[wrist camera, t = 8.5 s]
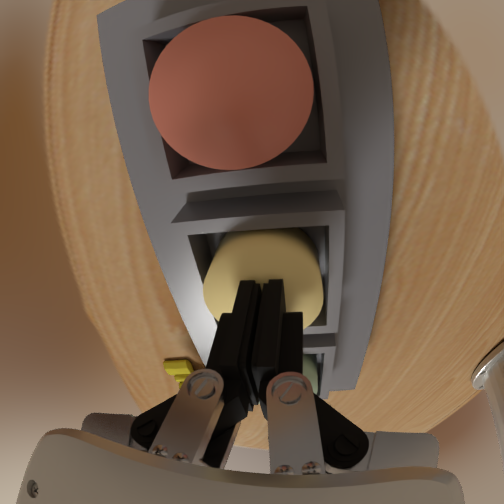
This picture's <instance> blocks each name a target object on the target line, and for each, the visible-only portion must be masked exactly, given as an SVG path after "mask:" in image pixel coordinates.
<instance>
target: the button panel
mask: <svg viewBox="0 0 504 504" xmlns="http://www.w3.org/2000/svg"><path fill="white" fill-rule="evenodd" d="M232 15H236V16H247V17H251V18H256V19H259V20H262V21H264V22H267V23H269V24H271V25H273V26H275V27H277V28H279V29H280V30H281V31H283V32H284V33H285V34H287V35H288V36H289V37H290V38H291V39H292V40H293V41H294V42H295V43H296V44H297V46H298V47H299V48H300V50H301V51H302V53H303V54H304V56H305V58H306V60H307V62H308V65H309V67H310V70H311V74H312V79H313V88H314V95H313V104H312V108H311V112H310V115H309V118H308V120H307V123H306V125H305V126H304V128H303V130H302V132H301V133H300V135H299V136H298V137H297V138H296V140H295V141H294V142H293V143H292V144H291V145H290V146H289V147H288V148H287V149H286V150H284V151H283V152H282V153H281V154H279V155H278V156H276V157H274V158H273V159H271V160H269V161H267V162H265V163H262V164H260V165H257V166H254V167H250V168H245V169H239V170H221V169H214V168H209V167H205V166H202V165H199V164H197V163H194V162H192V161H190V160H188V159H187V158H185V157H183V156H182V155H180V154H179V153H178V152H176V151H175V150H174V149H173V148H172V147H171V146H170V145H169V144H168V143H167V142H166V141H165V139H164V138H163V137H162V136H161V134H160V132H159V131H158V129H157V127H156V125H155V123H154V120H153V118H152V114H151V111H150V105H149V83H150V78H151V74H152V71H153V68H154V66H155V63H156V61H157V59H158V57H159V56H160V54H161V52H162V51H163V50H164V48H165V47H166V46H167V45H168V44H169V43H170V41H171V40H172V39H173V38H174V37H176V36H177V35H178V34H179V33H181V32H182V31H183V30H185V29H187V28H188V27H190V26H192V25H194V24H196V23H198V22H201V21H203V20H207V19H210V18H214V17H220V16H232ZM97 22H98V31H99V39H100V47H101V53H102V60H103V66H104V72H105V77H106V83H107V88H108V93H109V98H110V103H111V107H112V112H113V116H114V120H115V125H116V129H117V133H118V137H119V141H120V144H121V148H122V152H123V156H124V159H125V163H126V166H127V170H128V173H129V177H130V180H131V183H132V187H133V190H134V193H135V196H136V199H137V202H138V205H139V208H140V211H141V214H142V217H143V220H144V223H145V226H146V229H147V232H148V235H149V237H150V240H151V243H152V246H153V248H154V251H155V254H156V256H157V259H158V261H159V264H160V267H161V269H162V272H163V274H164V277H165V279H166V282H167V284H168V286H169V289H170V291H171V294H172V296H173V298H174V301H175V303H176V305H177V308H178V310H179V312H180V314H181V317H182V319H183V321H184V323H185V325H186V328H187V330H188V332H189V334H190V336H191V338H192V340H193V343H194V345H195V347H196V349H197V351H198V353H199V355H200V357H201V359H202V361H203V363H204V365H205V367H206V364H207V361H208V357H209V354H210V350H211V347H212V344H213V340H214V337H215V333H216V330H217V326H218V323H219V321H218V320H217V319H216V318H215V317H214V316H213V315H212V314H211V313H210V311H209V309H208V308H207V306H206V303H205V301H204V297H203V284H204V280H205V278H206V275H207V273H208V270H209V267H210V265H211V262H212V260H213V258H214V255H215V253H216V250H217V248H218V245H219V243H220V241H221V240H222V238H223V237H224V235H225V234H226V233H227V232H232V231H246V230H260V229H275V228H291V227H298V228H299V229H301V230H302V231H303V232H304V233H306V234H307V235H308V236H309V238H310V239H311V240H312V242H313V243H314V245H315V247H316V249H317V252H318V256H319V262H320V270H321V279H322V288H323V305H322V308H321V311H320V313H319V315H318V316H317V318H316V319H315V320H314V321H313V322H312V323H311V324H310V325H309V326H308V327H306V328H305V329H303V354H316V355H317V376H318V391H317V394H316V395H317V396H319V397H320V398H321V399H328V395H329V391H340V390H352V389H355V387H356V384H357V380H358V377H359V374H360V371H361V367H362V364H363V360H364V357H365V353H366V350H367V346H368V342H369V338H370V334H371V330H372V326H373V322H374V317H375V313H376V308H377V303H378V299H379V293H380V288H381V283H382V277H383V271H384V265H385V258H386V251H387V244H388V236H389V227H390V218H391V207H392V193H393V174H394V114H393V96H392V83H391V73H390V64H389V56H388V48H387V42H386V36H385V30H384V24H383V19H382V14H381V10H380V5H379V1H378V0H126V1H123V2H121V3H119V4H117V5H115V6H113V7H111V8H109V9H107V10H105V11H104V12H102V13H100V14H98V15H97Z"/></svg>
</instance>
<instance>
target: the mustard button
mask: <svg viewBox="0 0 504 504" xmlns="http://www.w3.org/2000/svg"><path fill="white" fill-rule="evenodd" d="M269 279H283V283H284V293H285V303H286V312H303V329H305V328H306V327H308V326H309V325H310V324H311V323H312V322H313V321H314V320H315V319H316V318H317V316H318V315H319V313H320V311H321V308H322V305H323V288H322V279H321V270H320V262H319V256H318V252H317V249H316V247H315V245H314V243H313V242H312V240H311V239H310V238H309V236H308V235H307V234H306V233H304V232H303V231H302V230H301V229H299V228H298V227H291V228H275V229H260V230H246V231H232V232H227V233H226V234H225V235H224V237H223V238H222V240H221V241H220V243H219V245H218V248H217V250H216V253H215V255H214V258H213V260H212V262H211V265H210V267H209V270H208V273H207V275H206V278H205V280H204V284H203V297H204V301H205V303H206V306H207V308H208V309H209V311H210V313H211V314H212V315H213V316H214V317H215V318H216V319H217V320H218V321H219V319H220V316H221V314H222V313H232V310H233V306H234V302H235V298H236V294H237V290H238V286H239V283H240V281H241V280H255V283H256V284H257V283H260V286H261V292H262V289H263V284H264V283H268V281H269Z"/></svg>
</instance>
